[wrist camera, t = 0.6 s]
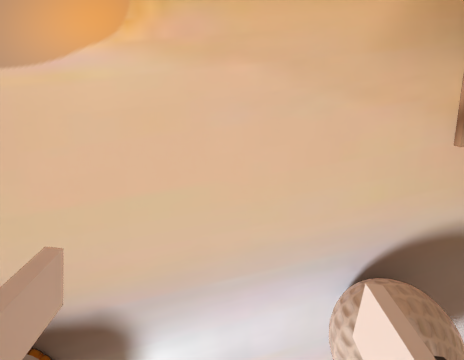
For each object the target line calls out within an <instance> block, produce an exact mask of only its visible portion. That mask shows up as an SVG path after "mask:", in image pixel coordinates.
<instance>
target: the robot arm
mask: <svg viewBox="0 0 464 360" xmlns="http://www.w3.org/2000/svg"><path fill="white" fill-rule="evenodd" d="M62 305H63V249H62V248H53V247H44V248H43V249H42V250H41V251H40V252H39V253H38V254H36V255H35V256H34V257H33V258H32V259H31V260H30V261H29V262H28V263H27V264H25V265H24V266H23V267H22V268H21V269H20V270H19V271H18V272H17V273H16V274H14V275H13V276H12V277H11V278H10V279H9V280H8V281H7V282H6V283H5V284H3V285H2V286H1V287H0V360H22V359H23V358H24V357H25V355H26V354H27V353H28V351H29V350H30V349H31V347H32V346H33V345H34V343H35V342H36V340H37V339H38V338H39V336H40V335H41V334H42V332H43V331H44V330H45V328H46V327H47V326H48V324H49V323H50V322H51V320H52V319H53V318H54V316H55V315H56V314H57V312H58V311H59V310H60V308H61V307H62ZM352 337H353V339H354V341H355V343H356V346H357V348H358V350H359V352H360V354H361V357H362V359H363V360H446V359H445V358H444V357H440V356H433V355H432V353H431V352H430V351H429V349H428V348H427V346H426V345H425V344H424V342H423V341H422V339H421V338H420V337H419V335H418V334H417V332H416V331H415V330H414V328H413V327H412V325H411V324H410V323H409V321H408V320H407V318H406V317H405V316H404V314H403V313H402V311H401V310H400V309H399V307H398V306H397V304H396V303H395V302H394V300H393V299H392V297H391V296H390V295H389V293H388V292H387V290H386V289H385V288H384V286H383V285H377V284H368V283H366V284H365V288H364V292H363V296H362V300H361V304H360V308H359V312H358V316H357V320H356V324H355V328H354V332H353V336H352Z"/></svg>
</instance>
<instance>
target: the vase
mask: <svg viewBox="0 0 464 360" xmlns="http://www.w3.org/2000/svg"><path fill="white" fill-rule="evenodd" d="M366 283H368V284H377V285H383V286H384V288H385V289H386V290H387V292H388V293H389V295H390V296H391V297H392V299H393V300H394V302H395V303H396V304H397V306H398V307H399V309H400V310H401V311H402V313H403V314H404V316H405V317H406V318H407V320H408V321H409V323H410V324H411V325H412V327H413V328H414V330H415V331H416V332H417V334H418V335H419V337H420V338H421V339H422V341H423V342H424V344H425V345H426V346H427V348H428V349H429V351H430V352H431V353H432V355H433V356H440V357H444V358H445V359H446V360H464V343H463V340H462V338H461V335H460V333H459V332H458V330H457V328H456V326H455V325H454V323H453V322H452V320H451V319H450V317H449V316H448V315H447V314H446V313H445V312H444V310H443V309H442V308H441V307H440V306H439V305H438V304H437V303H436V302H435V301H434V300H433V299H432V298H430V297H429V296H428V295H427V294H426V293H424V292H423V291H421V290H419V289H417V288H415V287H414V286H412V285H410V284H407V283H405V282H402V281H397V280H393V279H388V278H373V279H367V280H363V281H360V282H358V283H356V284H354V285H352V286H351V287H350V288H348V289H347V290H346V291H345V292H344V293H343V294H342V296H341V297H340V298H339V300H338V301H337V303H336V305H335V307H334V309H333V312H332V315H331V318H330V323H329V344H330V348H331V353H332V357H333V360H363V359H362V357H361V354H360V352H359V350H358V348H357V346H356V343H355V341H354V339H353V337H352V336H353V332H354V328H355V324H356V320H357V316H358V312H359V308H360V304H361V300H362V296H363V292H364V288H365V284H366Z"/></svg>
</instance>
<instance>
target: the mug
mask: <svg viewBox="0 0 464 360" xmlns="http://www.w3.org/2000/svg"><path fill="white" fill-rule="evenodd" d="M22 360H52V359H50V358H49V357H48V356H47V355H44V354H43V353H42V352H41V351H38V350H36V349H33V348H32V349H31V350H29V351H28V353H27V354H26V355H25V357H24V358H23V359H22Z"/></svg>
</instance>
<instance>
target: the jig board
mask: <svg viewBox="0 0 464 360" xmlns="http://www.w3.org/2000/svg"><path fill="white" fill-rule="evenodd" d="M454 145H455V146H458V147H464V76H463V83H462V90H461V97H460V104H459V112H458V119H457V126H456V133H455V140H454Z"/></svg>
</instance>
